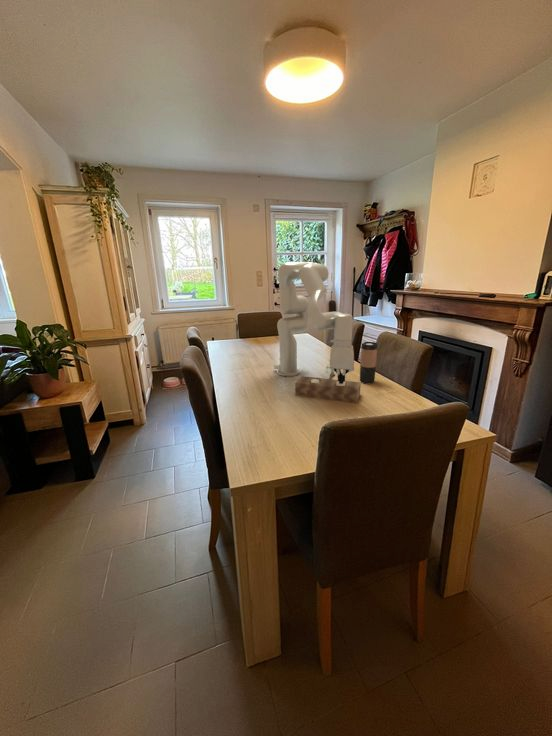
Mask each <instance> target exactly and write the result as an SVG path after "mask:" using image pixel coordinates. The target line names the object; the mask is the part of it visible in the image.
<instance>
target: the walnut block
mask: <svg viewBox="0 0 552 736" xmlns="http://www.w3.org/2000/svg"><path fill="white" fill-rule="evenodd" d="M312 379H318V380H319V383H311V380H312ZM336 382H338V379H332V378H330V379H324V378H322V377H314V376H313V377H312V376H305V375H301V376H300V377H299V378H298V379H297V380H296V381H295V382H294V385H295V386H294V393H295V394H294V396H302V397H308V398H309V397H310V398H316V399H323V400H324V399H325V400H330V399H331V400H332V401H337V400H339V402H345V401H348V402H347V403H353V402H354V404H357V403H358V401H359V398H360V396H361V385H362V384H361V383H362V382H360V381H353V380H352V381H351V380H345V386H336ZM331 400H330V401H331Z"/></svg>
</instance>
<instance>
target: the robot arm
mask: <svg viewBox="0 0 552 736" xmlns="http://www.w3.org/2000/svg"><path fill="white" fill-rule="evenodd" d="M329 274H330V273H329V270H328V268H327V266H326V265H325V264H322V263H317V262H312V261H287V262H284V263H282V264H280V266H279V267H278V271H277V280H278V285H279V309H280V312H281V314H283V315H287V316H285V317H284V316H283V317H282V318H280V319H278V321H277V322H276V323H277V324H276V328H277V331H278V332H277V333H278V340H279V342H278V343H279V364H273V369H275V370H277V374H278V375H279V376H282V377H294V376H298V375H299V374H300V372H301V370H300V369H298V343H297V339H296V337H294V335H297V334H300V333H301V334H303V333H306V331H307V330H308V328H309V319H310V322H311V323H312V326H313V327H314V328H315V329H316V330H318V331H327V330H333V339H330V343H331V344H333V345H331V347H330V355H329V364H330V369H331V370H334V371H335V372H334V373H336V375H337V380H338V381H339V384H340V383H341V384H343V382H345V381H346V375H347V374H348V373H351V372H354V371H355V367H354V366H355V351H354V346H353V345H352V342H353V341H352V340H353V322H354V321H353V320H354V319H353V315H352V314H351V313H344V312H343V313H342V312H340V311H327V312H322V311H321V310H320V307H319V304H318V302H319V301H320V300H321V299H323V298H324V297H325V296H326V294H327V291H328V289H327V287H326V286H325V282H326V281H327V280H328V279H329ZM294 280H296V281H298V280H301V283H302V285H303V287H304V289H305V291H306V293H307V296H308V297H309V300H308V298H307V297H306V296H304V295H301V294H300V295H297V287H296V284H295V282H294ZM289 315H291V316H289ZM292 315H293V316H292Z"/></svg>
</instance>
